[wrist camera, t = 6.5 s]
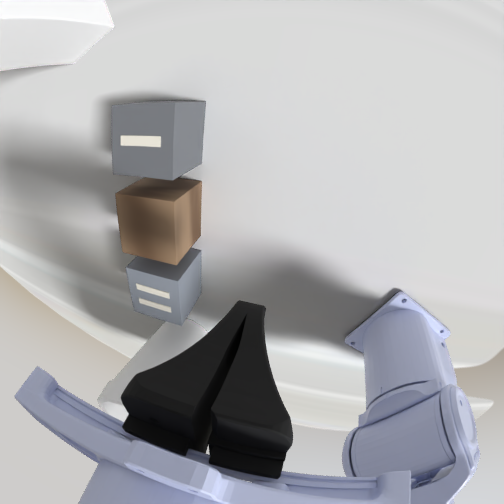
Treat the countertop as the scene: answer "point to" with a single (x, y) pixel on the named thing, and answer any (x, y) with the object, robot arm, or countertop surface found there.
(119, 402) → the foam cup
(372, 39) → the countertop surface
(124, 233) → the walnut block
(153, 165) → the charcoal block
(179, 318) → the slate block
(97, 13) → the milk
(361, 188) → the countertop surface
